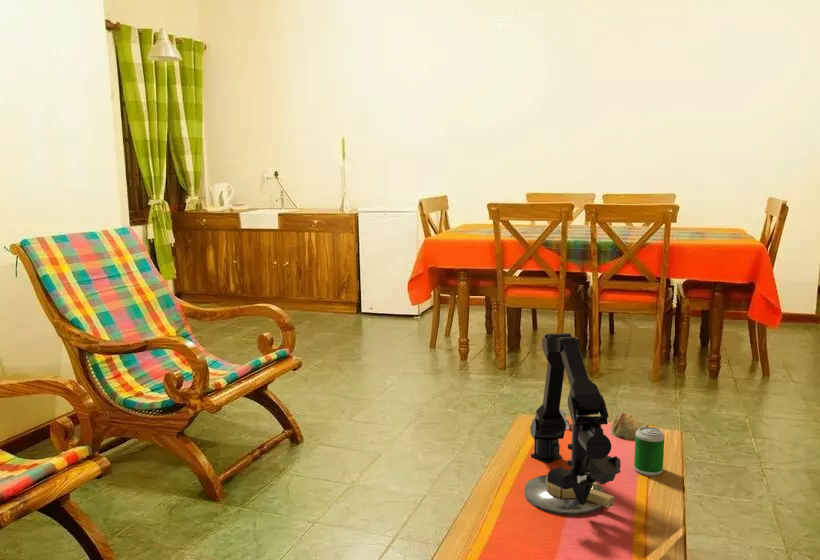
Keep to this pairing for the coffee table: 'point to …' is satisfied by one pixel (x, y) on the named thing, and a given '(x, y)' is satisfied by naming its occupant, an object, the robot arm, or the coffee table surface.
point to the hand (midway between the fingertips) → (582, 504)
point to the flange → (557, 499)
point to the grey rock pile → (566, 420)
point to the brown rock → (627, 426)
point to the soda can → (649, 451)
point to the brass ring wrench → (569, 493)
